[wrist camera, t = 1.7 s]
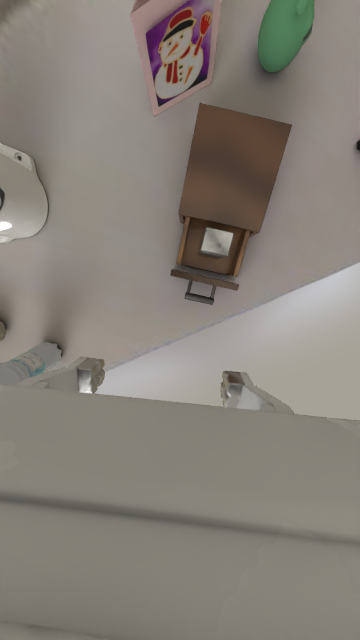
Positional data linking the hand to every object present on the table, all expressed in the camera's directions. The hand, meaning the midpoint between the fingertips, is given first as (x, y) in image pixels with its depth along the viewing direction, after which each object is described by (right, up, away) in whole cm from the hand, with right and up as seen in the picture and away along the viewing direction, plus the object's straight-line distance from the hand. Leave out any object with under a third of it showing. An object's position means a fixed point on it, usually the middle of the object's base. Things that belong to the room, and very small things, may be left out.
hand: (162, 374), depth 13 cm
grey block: (+8, +19, +27) cm, 33 cm away
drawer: (+7, +17, +28) cm, 34 cm away
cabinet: (+10, +30, +25) cm, 40 cm away
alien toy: (+17, +48, +20) cm, 55 cm away
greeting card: (0, +46, +22) cm, 51 cm away
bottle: (-32, -4, +37) cm, 49 cm away
